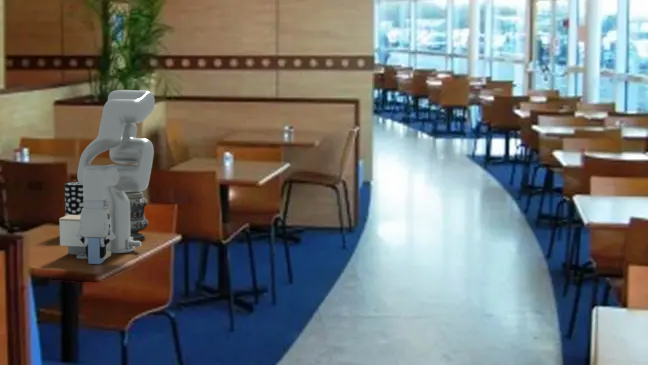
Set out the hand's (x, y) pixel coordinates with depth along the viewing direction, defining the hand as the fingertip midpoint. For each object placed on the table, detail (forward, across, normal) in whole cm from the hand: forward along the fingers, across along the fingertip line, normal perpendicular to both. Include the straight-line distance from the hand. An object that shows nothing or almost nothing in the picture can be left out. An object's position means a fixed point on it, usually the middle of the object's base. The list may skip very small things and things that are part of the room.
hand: (95, 256), depth 336 cm
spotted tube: (+3, +26, -48) cm, 55 cm away
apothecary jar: (+3, +2, -45) cm, 45 cm away
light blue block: (+2, 0, -5) cm, 5 cm away
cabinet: (+2, +9, -9) cm, 13 cm away
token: (+3, +7, -9) cm, 12 cm away
